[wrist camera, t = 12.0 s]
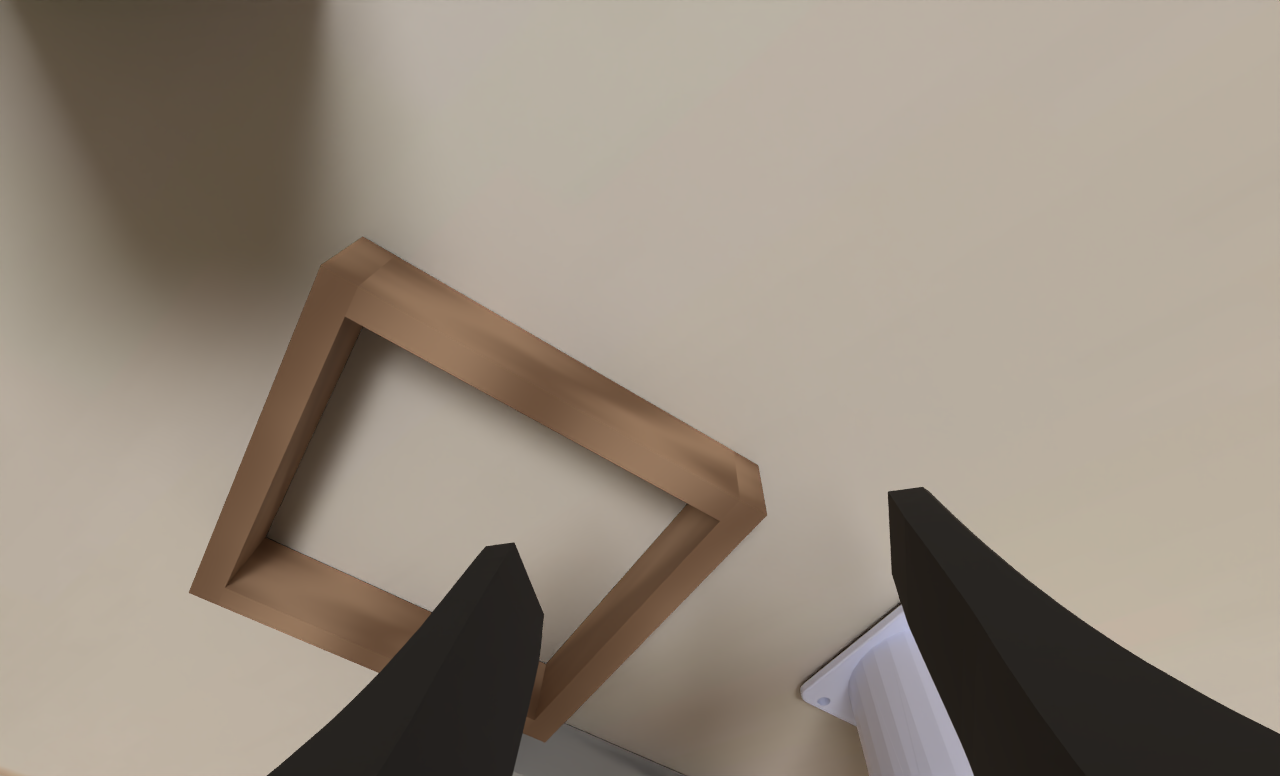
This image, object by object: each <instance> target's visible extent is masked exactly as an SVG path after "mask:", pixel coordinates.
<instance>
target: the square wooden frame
mask: <svg viewBox="0 0 1280 776" xmlns="http://www.w3.org/2000/svg"><path fill="white" fill-rule="evenodd" d="M362 327H365V328H367V329H369V330H371V331H372V332H374V333H376V334H378V335H380V336H382V337H383V338H385V339H387V340H389V341H391V342H393V343H394V344H396V345H398V346H400V347H402V348H404V349H405V350H407V351H409V352H411V353H413V354H415V355H416V356H418V357H420V358H422V359H424V360H426V361H427V362H429V363H431V364H433V365H435V366H437V367H438V368H440V369H442V370H444V371H446V372H448V373H449V374H451V375H453V376H455V377H457V378H459V379H460V380H462V381H464V382H466V383H468V384H470V385H471V386H473V387H475V388H477V389H479V390H481V391H482V392H484V393H486V394H488V395H490V396H492V397H493V398H495V399H497V400H499V401H501V402H503V403H504V404H506V405H508V406H510V407H512V408H514V409H515V410H517V411H519V412H521V413H523V414H525V415H526V416H528V417H530V418H532V419H534V420H536V421H537V422H539V423H541V424H543V425H545V426H547V427H548V428H550V429H552V430H554V431H556V432H558V433H559V434H561V435H563V436H565V437H567V438H569V439H570V440H572V441H574V442H576V443H578V444H579V445H581V446H583V447H585V448H587V449H589V450H590V451H592V452H594V453H596V454H598V455H600V456H601V457H603V458H605V459H607V460H609V461H611V462H612V463H614V464H616V465H618V466H620V467H622V468H623V469H625V470H627V471H629V472H631V473H633V474H634V475H636V476H638V477H640V478H642V479H644V480H645V481H647V482H649V483H651V484H653V485H655V486H656V487H658V488H660V489H662V490H664V491H666V492H667V493H669V494H671V495H673V496H675V497H677V498H678V499H680V500H682V501H684V502H686V503H688V504H687V505H686V506H685V507H684V508H683V510H682V511H681V512H680V513H679V514H678V515H677V516H676V517H675V519H674V520H673V521H672V522H671V523H670V524H669V525H668V527H667V528H666V529H665V530H664V531H663V532H662V533H661V535H660V536H659V537H658V538H657V539H656V540H655V541H654V542H653V544H652V545H651V546H650V547H649V548H648V549H647V550H646V552H645V553H644V554H643V555H642V556H641V557H640V558H639V559H638V561H637V562H636V563H635V564H634V565H633V566H632V567H631V569H630V570H629V571H628V572H627V573H626V574H625V575H624V576H623V578H622V579H621V580H620V581H619V582H618V583H617V584H616V586H615V587H614V588H613V589H612V590H611V591H610V592H609V593H608V595H607V596H606V597H605V598H604V599H603V600H602V601H601V603H600V604H599V605H598V606H597V607H596V608H595V609H594V610H593V612H592V613H591V614H590V615H589V616H588V617H587V618H586V620H585V621H584V622H583V623H582V624H581V625H580V626H579V628H578V629H577V630H576V631H575V632H574V633H573V634H572V635H571V637H570V638H569V639H568V640H567V641H566V642H565V643H564V645H563V646H562V647H561V648H560V649H559V650H558V651H557V652H556V654H555V655H554V656H553V657H552V658H551V659H550V660H549V662H548V663H547V664H544V663H542V662H540V661H539V665H538V669H537V674H536V678H535V683H534V687H533V691H532V696H531V700H530V704H529V709H528V713H527V717H526V721H525V725H524V729H523V734H525V735H528V736H530V737H533V738H535V739H537V740H540V741H542V742H544V743H545V742H546V741H547V740H548V739H549V738H550V737H551V736H552V735H553V734H554V733H555V732H556V731H557V730H558V729H559V728H560V727H561V726H562V725H563V724H564V723H565V722H566V721H567V720H568V719H569V718H570V717H571V716H572V715H573V714H574V712H575V711H576V710H577V709H578V708H579V707H580V706H581V705H582V704H583V703H584V702H585V701H586V700H587V699H588V698H589V697H590V696H591V695H592V694H593V693H594V692H595V691H596V690H597V689H598V688H599V687H600V686H601V685H602V684H603V683H604V682H605V681H606V680H607V679H608V678H609V677H610V676H611V675H612V674H613V672H614V671H615V670H616V669H617V668H618V667H619V666H620V665H621V664H622V663H623V662H624V661H625V660H626V659H627V658H628V657H629V656H630V655H631V654H632V653H633V652H634V651H635V650H636V649H637V648H638V647H639V646H640V645H641V644H642V643H643V642H644V641H645V640H646V639H647V638H648V637H649V636H650V635H651V634H652V633H653V631H654V630H655V629H656V628H657V627H658V626H659V625H660V624H661V623H662V622H663V621H664V620H665V619H666V618H667V617H668V616H669V615H670V614H671V613H672V612H673V611H674V610H675V609H676V608H677V607H678V606H679V605H680V604H681V603H682V602H683V601H684V600H685V599H686V598H687V597H688V596H689V595H690V594H691V593H692V591H693V590H694V589H695V588H696V587H697V586H698V585H699V584H700V583H701V582H702V581H703V580H704V579H705V578H706V577H707V576H708V575H709V574H710V573H711V572H712V571H713V570H714V569H715V568H716V567H717V566H718V565H719V564H720V563H721V562H722V561H723V560H724V559H725V558H726V557H727V556H728V555H729V554H730V553H731V551H732V550H733V549H734V548H735V547H736V546H737V545H738V544H739V543H740V542H741V541H742V540H743V539H744V538H745V537H746V536H747V535H748V534H749V533H750V532H751V531H752V530H753V529H754V528H755V527H756V526H757V525H758V524H759V523H760V522H761V521H762V520H763V519H764V518H765V517H766V516H767V511H766V506H765V500H764V495H763V489H762V484H761V478H760V472H759V467H758V465H757V464H755V463H753V462H751V461H750V460H748V459H746V458H745V457H743V456H741V455H739V454H738V453H736V452H734V451H732V450H731V449H729V448H727V447H726V446H724V445H722V444H720V443H719V442H717V441H715V440H713V439H712V438H710V437H708V436H707V435H705V434H703V433H701V432H700V431H698V430H696V429H694V428H693V427H691V426H689V425H687V424H686V423H684V422H682V421H681V420H679V419H677V418H675V417H674V416H672V415H670V414H668V413H667V412H665V411H663V410H662V409H660V408H658V407H656V406H655V405H653V404H651V403H649V402H648V401H646V400H644V399H643V398H641V397H639V396H637V395H636V394H634V393H632V392H630V391H629V390H627V389H625V388H624V387H622V386H620V385H618V384H617V383H615V382H613V381H611V380H610V379H608V378H606V377H605V376H603V375H601V374H599V373H598V372H596V371H594V370H592V369H591V368H589V367H587V366H586V365H584V364H582V363H580V362H579V361H577V360H575V359H573V358H572V357H570V356H568V355H567V354H565V353H563V352H561V351H560V350H558V349H556V348H554V347H553V346H551V345H549V344H548V343H546V342H544V341H542V340H541V339H539V338H537V337H535V336H534V335H532V334H530V333H529V332H527V331H525V330H523V329H522V328H520V327H518V326H516V325H515V324H513V323H511V322H510V321H508V320H506V319H504V318H503V317H501V316H499V315H497V314H496V313H494V312H492V311H491V310H489V309H487V308H485V307H484V306H482V305H480V304H478V303H477V302H475V301H473V300H472V299H470V298H468V297H466V296H465V295H463V294H461V293H459V292H458V291H456V290H454V289H453V288H451V287H449V286H447V285H446V284H444V283H442V282H440V281H439V280H437V279H435V278H433V277H432V276H430V275H428V274H427V273H425V272H423V271H421V270H420V269H418V268H416V267H414V266H413V265H411V264H409V263H408V262H406V261H404V260H402V259H401V258H399V257H397V256H395V255H394V254H392V253H390V252H389V251H387V250H385V249H383V248H382V247H380V246H378V245H376V244H375V243H373V242H371V241H370V240H368V239H366V238H364V237H362V238H360V239H359V240H357V241H356V242H354V243H353V244H351V245H350V246H348V247H347V248H345V249H344V250H342V251H341V252H339V253H338V254H337V255H335V256H334V257H332V258H331V259H329V260H328V261H326V262H325V263H323V264H322V265H321V266H320V268H319V271H318V273H317V276H316V278H315V281H314V283H313V286H312V288H311V291H310V293H309V296H308V298H307V301H306V303H305V306H304V308H303V311H302V313H301V316H300V318H299V321H298V323H297V325H296V328H295V330H294V333H293V335H292V338H291V340H290V343H289V345H288V348H287V350H286V353H285V355H284V358H283V360H282V363H281V365H280V368H279V370H278V373H277V375H276V378H275V380H274V383H273V385H272V387H271V390H270V392H269V395H268V397H267V400H266V402H265V405H264V407H263V410H262V412H261V415H260V417H259V420H258V422H257V425H256V427H255V430H254V432H253V435H252V437H251V440H250V442H249V445H248V447H247V449H246V452H245V454H244V457H243V459H242V462H241V464H240V467H239V469H238V472H237V474H236V477H235V479H234V482H233V484H232V487H231V489H230V492H229V494H228V497H227V499H226V502H225V504H224V506H223V509H222V511H221V514H220V516H219V519H218V521H217V524H216V526H215V529H214V531H213V534H212V536H211V539H210V541H209V544H208V546H207V549H206V551H205V554H204V556H203V559H202V561H201V564H200V566H199V568H198V571H197V573H196V576H195V578H194V581H193V583H192V586H191V588H190V591H189V593H191V594H193V595H195V596H198V597H200V598H202V599H205V600H207V601H210V602H212V603H214V604H217V605H219V606H221V607H224V608H226V609H229V610H231V611H233V612H236V613H238V614H240V615H243V616H245V617H248V618H250V619H252V620H255V621H257V622H259V623H262V624H264V625H267V626H269V627H271V628H274V629H276V630H278V631H281V632H283V633H286V634H288V635H290V636H293V637H295V638H297V639H300V640H302V641H305V642H307V643H309V644H312V645H314V646H316V647H319V648H321V649H324V650H326V651H328V652H331V653H333V654H335V655H338V656H340V657H343V658H345V659H347V660H350V661H352V662H354V663H357V664H359V665H362V666H364V667H366V668H369V669H371V670H373V671H376V672H378V673H380V672H381V670H382V669H383V668H384V667H385V666H386V665H387V664H388V663H389V662H390V660H391V659H392V658H393V657H394V656H395V655H396V654H397V653H398V651H399V650H400V649H401V648H402V647H403V646H404V645H405V644H406V642H407V641H408V640H409V639H410V638H411V637H412V636H413V635H414V633H415V632H416V631H417V630H418V629H419V628H420V627H421V625H422V624H423V623H424V622H425V620H426V619H427V618H428V617H429V616H430V614H431V612H429V611H427V610H425V609H423V608H420V607H418V606H416V605H414V604H412V603H409V602H407V601H405V600H403V599H400V598H398V597H396V596H394V595H392V594H389V593H387V592H385V591H383V590H381V589H378V588H376V587H374V586H372V585H370V584H367V583H365V582H363V581H361V580H358V579H356V578H354V577H352V576H350V575H347V574H345V573H343V572H341V571H339V570H336V569H334V568H332V567H330V566H327V565H325V564H323V563H321V562H319V561H316V560H314V559H312V558H310V557H308V556H305V555H303V554H301V553H299V552H297V551H294V550H292V549H290V548H288V547H285V546H283V545H281V544H279V543H277V542H274V541H272V540H270V539H268V538H266V535H267V533H268V531H269V529H270V526H271V524H272V522H273V520H274V518H275V516H276V513H277V511H278V509H279V507H280V505H281V503H282V500H283V498H284V496H285V494H286V492H287V490H288V487H289V485H290V483H291V481H292V479H293V477H294V474H295V472H296V470H297V468H298V466H299V464H300V461H301V459H302V457H303V455H304V453H305V451H306V448H307V446H308V444H309V442H310V440H311V438H312V435H313V433H314V431H315V429H316V427H317V425H318V422H319V420H320V418H321V416H322V414H323V412H324V409H325V407H326V405H327V403H328V401H329V399H330V396H331V394H332V392H333V390H334V388H335V386H336V383H337V381H338V379H339V377H340V375H341V373H342V370H343V368H344V366H345V364H346V362H347V360H348V357H349V355H350V353H351V351H352V349H353V347H354V344H355V342H356V340H357V338H358V336H359V334H360V331H361V329H362Z"/></svg>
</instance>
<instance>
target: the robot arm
mask: <svg viewBox="0 0 1280 776" xmlns="http://www.w3.org/2000/svg"><path fill="white" fill-rule="evenodd" d="M888 504H889V525H890V545H891V566H892V575H893V579H894V582H895V585H896V588H897V592H898V595H899V598H900V601H901V605H900V606H899V607H897V608H896V609H895V610H894V611H893V612H891V613H890V614H889V615H888V616H886V617H885V618H884V619H883V620H881V621H880V622H879V623H878V624H877V625H875V626H874V627H873V628H872V629H870V630H869V631H868V632H867V633H865V634H864V635H863V636H862V637H861V638H859V639H858V640H857V641H856V642H854V643H853V644H852V645H851V646H849V647H848V648H847V649H846V650H845V651H843V652H842V653H841V654H840V655H838V656H837V657H836V658H835V659H833V660H832V661H831V662H830V663H829V664H827V665H826V666H825V667H824V668H822V669H821V670H820V671H819V672H817V673H816V674H815V675H814V676H813V677H811V678H810V679H809V680H808V681H806V682H805V683H804V684H803V685H802V686H801V688H800V692H801V697H802V699H803V700H804V701H805V702H807V703H809V704H811V705H813V706H815V707H817V708H819V709H821V710H823V711H825V712H827V713H830V714H832V715H834V716H836V717H838V718H840V719H842V720H844V721H846V722H848V723H850V724H852V725H854V726H856V727H857V730H858V733H859V737H860V741H861V745H862V749H863V753H864V757H865V761H866V765H867V769H868V773H869V776H1280V734H1279V733H1277V732H1275V731H1273V730H1271V729H1269V728H1267V727H1265V726H1263V725H1261V724H1259V723H1257V722H1255V721H1253V720H1251V719H1249V718H1247V717H1245V716H1243V715H1241V714H1239V713H1237V712H1235V711H1233V710H1231V709H1229V708H1228V707H1226V706H1224V705H1222V704H1220V703H1218V702H1216V701H1214V700H1213V699H1211V698H1209V697H1207V696H1205V695H1204V694H1202V693H1200V692H1198V691H1196V690H1195V689H1193V688H1191V687H1189V686H1188V685H1186V684H1184V683H1182V682H1181V681H1179V680H1177V679H1175V678H1174V677H1172V676H1170V675H1168V674H1167V673H1165V672H1163V671H1161V670H1160V669H1158V668H1156V667H1154V666H1153V665H1151V664H1149V663H1147V662H1146V661H1144V660H1142V659H1141V658H1139V657H1138V656H1136V655H1134V654H1133V653H1131V652H1130V651H1128V650H1126V649H1125V648H1123V647H1122V646H1120V645H1118V644H1117V643H1115V642H1114V641H1112V640H1111V639H1109V638H1108V637H1106V636H1105V635H1103V634H1102V633H1100V632H1099V631H1097V630H1096V629H1094V628H1093V627H1091V626H1090V625H1088V624H1087V623H1085V622H1084V621H1083V620H1081V619H1080V618H1078V617H1077V616H1075V615H1074V614H1073V613H1071V612H1070V611H1069V610H1067V609H1066V608H1064V607H1063V606H1062V605H1060V604H1059V603H1058V602H1056V601H1055V600H1054V599H1052V598H1051V597H1050V596H1048V595H1047V594H1046V593H1044V592H1043V591H1042V590H1040V589H1039V588H1038V587H1037V586H1035V585H1034V584H1033V583H1031V582H1030V581H1029V580H1028V579H1026V578H1025V577H1024V576H1023V575H1021V574H1020V573H1019V572H1018V571H1016V570H1015V569H1014V568H1013V567H1012V566H1010V565H1009V564H1008V563H1007V562H1006V561H1005V560H1003V559H1002V558H1001V557H1000V556H999V555H997V554H996V553H995V552H994V551H993V550H991V549H990V548H989V547H988V546H987V545H986V544H985V543H983V542H982V541H981V540H980V539H979V538H978V537H977V536H975V535H974V534H973V533H972V532H971V531H970V530H969V529H968V528H967V527H966V526H965V525H963V524H962V523H961V522H960V521H959V520H958V519H957V518H956V517H955V516H954V515H953V514H952V513H951V512H950V511H949V510H948V509H946V508H945V507H944V506H943V505H942V504H941V503H940V502H939V501H938V500H937V499H936V498H935V497H934V496H933V495H932V494H931V493H930V492H929V491H928V490H926V489H925V488H923V487H919V488H911V489H904V490H897V491H889V492H888ZM543 618H544V614H543V611H542V609H541V606H540V604H539V602H538V599H537V597H536V594H535V592H534V589H533V587H532V584H531V582H530V580H529V577H528V575H527V572H526V570H525V567H524V565H523V562H522V560H521V558H520V555H519V553H518V550H517V548H516V545H515V543H507V544H500V545H493V546H486V547H485V548H484V549H483V550H482V551H481V553H480V554H479V555H478V556H477V557H476V559H475V560H474V561H473V562H472V564H471V565H470V566H469V567H468V569H467V570H466V571H465V572H464V574H463V575H462V576H461V577H460V579H459V580H458V581H457V582H456V584H455V585H454V586H453V587H452V589H451V590H450V591H449V592H448V594H447V595H446V596H445V597H444V599H443V600H442V601H441V602H440V603H439V605H438V606H437V607H436V608H435V609H434V611H433V612H432V613H431V614H430V616H429V617H428V618H427V619H426V620H425V622H424V623H423V624H422V625H421V627H420V628H419V629H418V630H417V631H416V632H415V633H414V635H413V636H412V637H411V638H410V639H409V640H408V641H407V642H406V644H405V645H404V646H403V647H402V648H401V649H400V650H399V651H398V653H397V654H396V655H395V656H394V657H393V658H392V659H391V660H390V662H389V663H388V664H387V665H386V666H385V667H384V668H383V669H382V670H381V672H380V673H379V674H378V675H377V676H376V677H375V678H374V679H373V680H372V681H371V682H370V683H369V684H368V685H367V686H366V687H365V688H364V689H363V690H362V691H361V692H360V693H359V694H358V695H357V696H356V697H355V698H354V699H353V700H352V701H351V702H350V703H349V704H348V705H347V706H346V707H345V708H344V709H343V710H342V711H341V712H340V713H339V714H338V715H336V716H335V717H334V718H333V719H332V720H331V721H330V722H329V723H328V724H327V725H326V726H325V727H323V728H322V729H321V730H320V731H319V732H318V733H316V734H315V735H314V736H313V737H312V738H311V739H310V740H308V741H307V742H306V743H305V744H304V745H303V746H301V747H300V748H299V749H298V750H297V751H296V752H294V753H293V754H292V755H291V756H290V757H289V758H288V759H286V760H285V761H284V762H283V763H282V764H281V765H279V766H278V767H277V768H276V769H274V770H273V771H272V772H271V773H270V774H268V775H267V776H512V775H513V771H514V767H515V763H516V759H517V755H518V750H519V746H520V742H521V738H522V734H523V729H524V725H525V721H526V717H527V713H528V709H529V704H530V700H531V696H532V691H533V687H534V683H535V678H536V674H537V669H538V665H539V657H540V648H541V639H542V628H543Z"/></svg>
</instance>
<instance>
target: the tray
mask: <svg viewBox="0 0 1280 776" xmlns="http://www.w3.org/2000/svg"><path fill="white" fill-rule="evenodd" d="M512 776H685V775H683V774H680V773H678V772H676V771H673V770H671V769H669V768H666V767H664V766H662V765H659V764H657V763H655V762H652V761H650V760H648V759H646V758H643V757H641V756H639V755H636V754H634V753H632V752H629V751H627V750H625V749H622V748H620V747H618V746H615V745H613V744H611V743H609V742H606V741H604V740H602V739H599V738H597V737H595V736H592V735H590V734H588V733H585V732H583V731H581V730H578V729H576V728H574V727H571V726H569V725H567V724H565V723H564V724H563V725H562V726H561V727H560V728H559V729H558V730H557V731H556V732H555V733H554V734H553V735H552V736H551V737H550V738H549V739H548V740H547V741H546V742H545V743H544V742H542V741H540V740H537V739H535V738H533V737H530V736H528V735H525V734H522V738H521V742H520V746H519V750H518V755H517V759H516V763H515V767H514V771H513V775H512Z"/></svg>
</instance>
